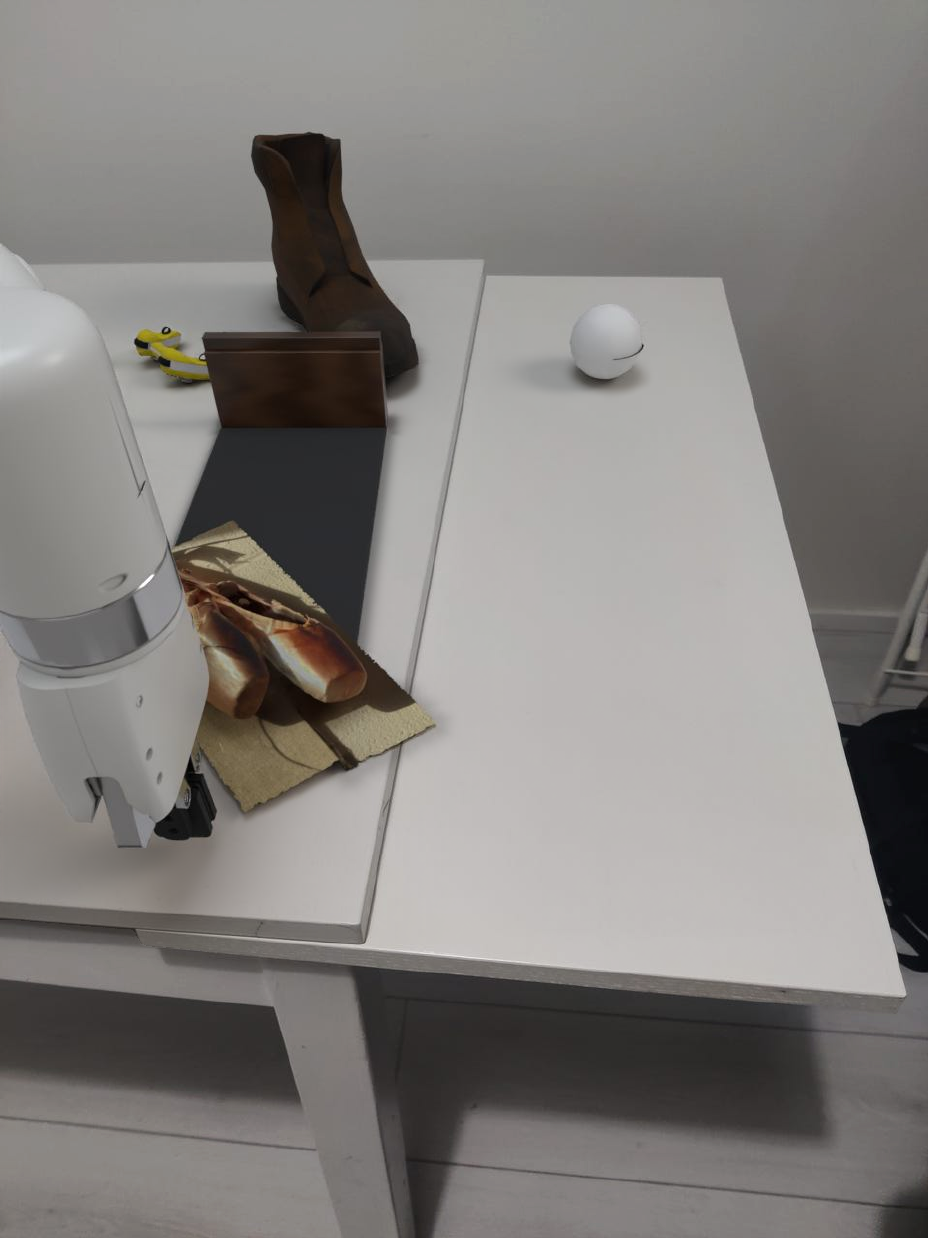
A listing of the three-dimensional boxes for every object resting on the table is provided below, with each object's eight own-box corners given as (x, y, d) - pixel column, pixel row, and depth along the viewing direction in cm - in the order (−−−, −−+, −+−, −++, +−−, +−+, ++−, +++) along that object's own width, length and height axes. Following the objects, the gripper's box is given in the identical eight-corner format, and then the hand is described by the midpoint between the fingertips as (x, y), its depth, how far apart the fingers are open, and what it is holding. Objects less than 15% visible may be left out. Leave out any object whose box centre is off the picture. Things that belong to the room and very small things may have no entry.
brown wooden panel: (221, 429, 85) (200, 339, 78) (225, 418, 86) (205, 329, 80) (386, 428, 84) (379, 339, 78) (388, 417, 86) (381, 329, 79)
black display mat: (135, 653, 63) (134, 650, 63) (221, 430, 84) (220, 427, 84) (355, 653, 63) (355, 650, 63) (386, 430, 84) (386, 427, 84)
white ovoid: (595, 400, 88) (602, 330, 83) (553, 368, 92) (558, 301, 87) (673, 374, 91) (684, 306, 86) (629, 345, 96) (637, 279, 91)
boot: (350, 411, 87) (326, 201, 73) (257, 296, 106) (224, 111, 92) (449, 384, 90) (444, 179, 76) (342, 277, 109) (322, 97, 95)
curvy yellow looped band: (122, 354, 93) (125, 321, 92) (177, 357, 98) (181, 325, 96) (167, 389, 88) (171, 355, 86) (223, 390, 92) (228, 357, 91)
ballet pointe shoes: (239, 781, 48) (42, 530, 63) (263, 842, 52) (75, 595, 68) (434, 655, 53) (211, 453, 68) (440, 720, 58) (230, 518, 73)
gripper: (62, 488, 43) (157, 724, 56) (-77, 726, 32) (80, 950, 45) (213, 488, 43) (274, 724, 56) (124, 727, 32) (225, 951, 45)
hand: (187, 825), depth 50 cm, fingers closed
